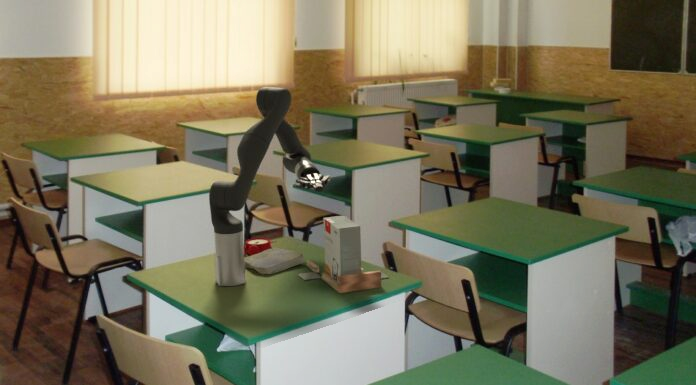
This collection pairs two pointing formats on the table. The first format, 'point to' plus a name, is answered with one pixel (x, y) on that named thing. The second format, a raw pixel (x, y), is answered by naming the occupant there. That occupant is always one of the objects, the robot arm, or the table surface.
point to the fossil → (273, 260)
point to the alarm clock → (257, 245)
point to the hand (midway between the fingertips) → (319, 189)
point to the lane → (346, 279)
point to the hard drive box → (341, 246)
